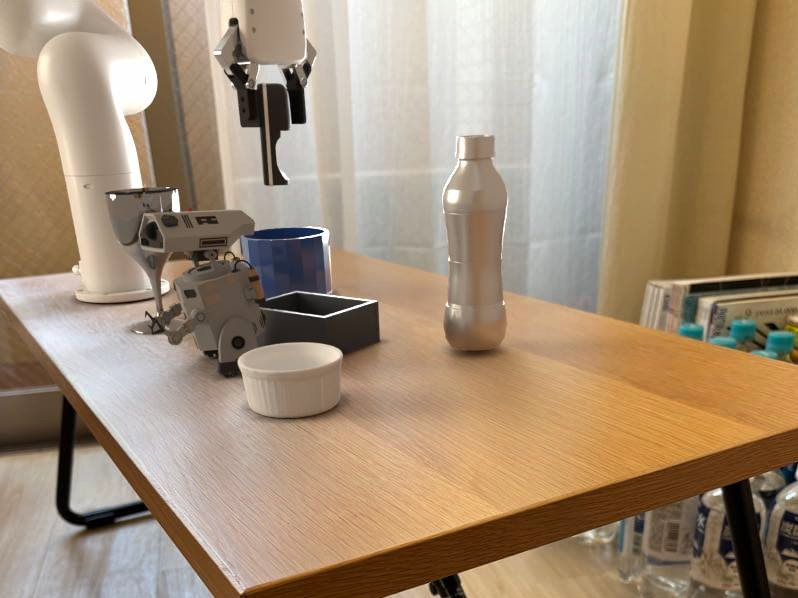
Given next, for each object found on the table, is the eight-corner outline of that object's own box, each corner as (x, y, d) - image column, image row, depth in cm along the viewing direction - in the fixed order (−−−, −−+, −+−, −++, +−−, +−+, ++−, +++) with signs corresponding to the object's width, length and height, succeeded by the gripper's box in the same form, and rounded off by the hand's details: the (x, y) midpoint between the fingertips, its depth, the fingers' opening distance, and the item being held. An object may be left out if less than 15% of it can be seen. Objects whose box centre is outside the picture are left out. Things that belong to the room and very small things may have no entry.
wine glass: (210, 320, 107) (192, 187, 101) (168, 336, 101) (146, 195, 94) (157, 316, 111) (136, 186, 104) (113, 331, 104) (88, 194, 97)
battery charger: (295, 187, 109) (289, 82, 104) (264, 188, 109) (256, 82, 103) (293, 182, 115) (287, 82, 110) (263, 182, 115) (256, 82, 110)
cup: (228, 300, 118) (220, 236, 114) (287, 284, 126) (282, 225, 123) (292, 308, 112) (286, 242, 108) (350, 291, 120) (346, 229, 116)
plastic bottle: (513, 342, 94) (517, 133, 85) (497, 359, 88) (500, 137, 79) (454, 339, 96) (452, 134, 87) (435, 356, 90) (431, 138, 81)
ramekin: (356, 413, 75) (353, 363, 73) (250, 427, 73) (244, 375, 71) (333, 384, 82) (330, 337, 80) (237, 396, 80) (231, 348, 78)
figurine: (147, 364, 91) (121, 208, 84) (257, 349, 95) (241, 199, 88) (160, 388, 84) (132, 219, 77) (280, 370, 87) (263, 208, 80)
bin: (327, 360, 90) (324, 317, 88) (245, 346, 96) (240, 305, 94) (380, 341, 96) (378, 300, 94) (299, 328, 102) (296, 290, 100)
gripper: (287, -39, 109) (299, 122, 117) (177, -52, 97) (199, 129, 105) (334, -46, 105) (343, 122, 113) (225, -60, 93) (244, 129, 101)
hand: (274, 124), depth 109 cm, fingers closed on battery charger, 6 cm apart
